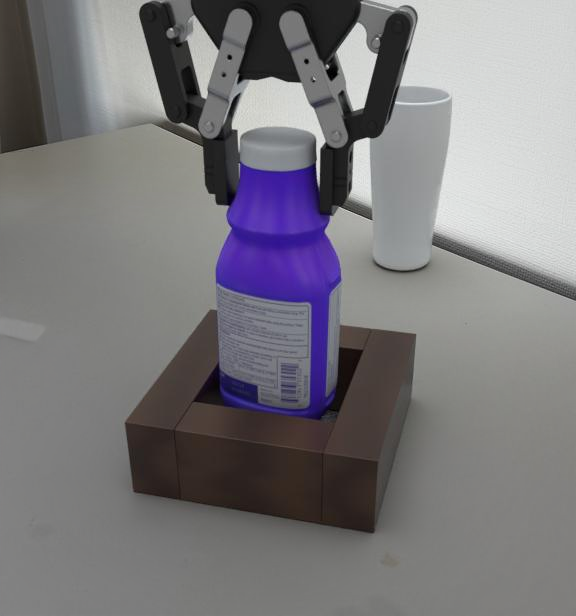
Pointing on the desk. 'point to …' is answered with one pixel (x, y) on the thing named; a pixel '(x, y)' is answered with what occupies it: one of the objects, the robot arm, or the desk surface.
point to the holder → (276, 435)
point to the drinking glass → (409, 176)
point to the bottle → (278, 282)
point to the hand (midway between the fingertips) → (278, 204)
